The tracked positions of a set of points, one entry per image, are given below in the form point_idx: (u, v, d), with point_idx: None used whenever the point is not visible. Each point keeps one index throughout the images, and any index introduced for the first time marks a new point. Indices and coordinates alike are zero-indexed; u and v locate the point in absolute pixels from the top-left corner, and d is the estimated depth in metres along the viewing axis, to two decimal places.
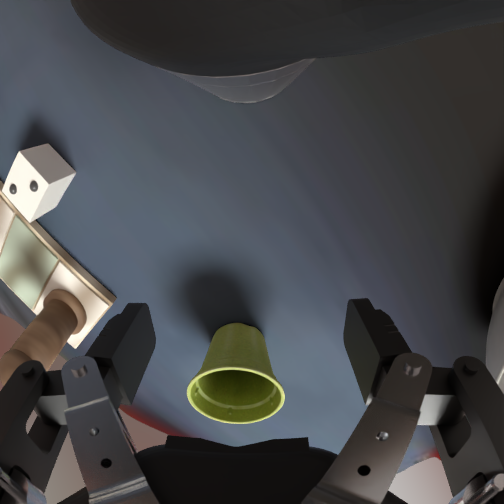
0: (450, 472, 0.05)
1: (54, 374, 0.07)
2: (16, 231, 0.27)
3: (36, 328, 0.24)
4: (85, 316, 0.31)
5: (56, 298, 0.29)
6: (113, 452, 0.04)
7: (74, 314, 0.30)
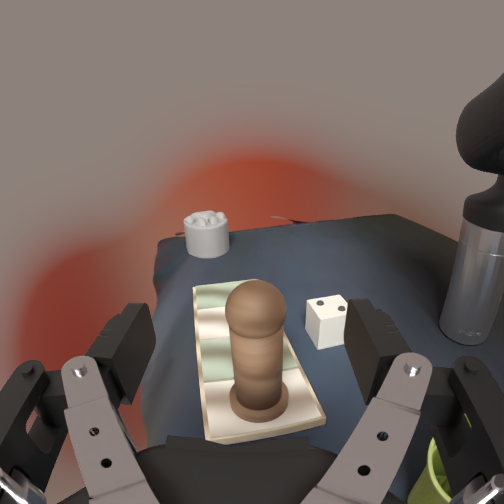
0: (451, 472, 0.05)
1: (54, 374, 0.07)
2: None
3: None
4: (281, 412, 0.27)
5: None
6: (113, 452, 0.04)
7: (280, 397, 0.28)
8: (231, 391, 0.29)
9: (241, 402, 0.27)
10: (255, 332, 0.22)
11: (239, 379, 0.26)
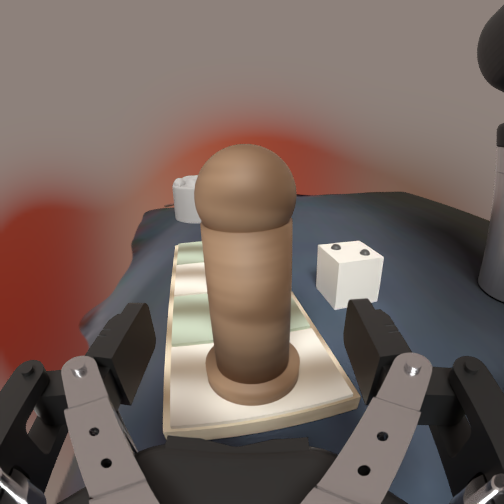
0: (451, 472, 0.05)
1: (54, 374, 0.07)
2: None
3: None
4: (289, 389, 0.17)
5: None
6: (113, 452, 0.04)
7: (287, 363, 0.18)
8: (209, 355, 0.19)
9: (223, 371, 0.17)
10: (243, 215, 0.13)
11: (217, 325, 0.16)
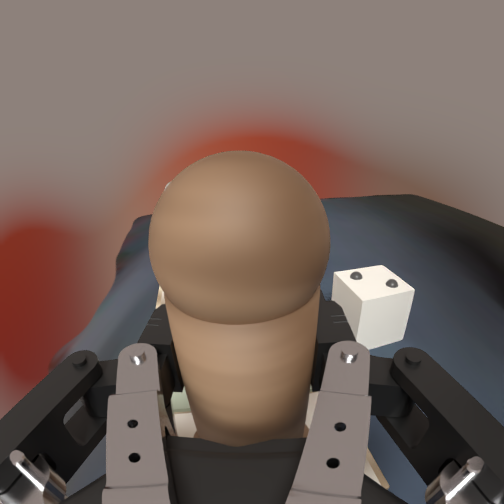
0: (417, 461, 0.06)
1: (106, 364, 0.08)
2: None
3: None
4: None
5: None
6: (145, 448, 0.05)
7: None
8: None
9: None
10: (233, 299, 0.06)
11: (201, 429, 0.09)
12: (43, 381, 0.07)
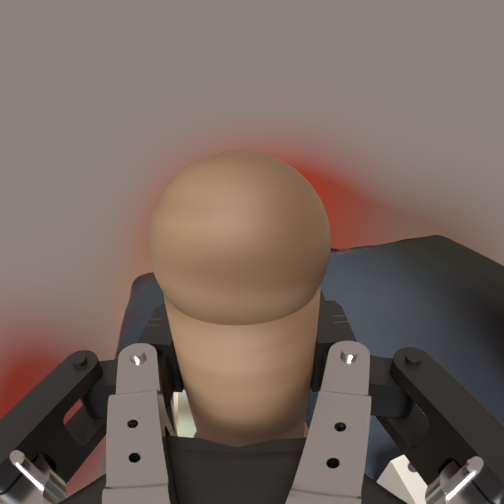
0: (416, 461, 0.06)
1: (106, 364, 0.08)
2: None
3: None
4: None
5: None
6: (145, 448, 0.05)
7: None
8: None
9: None
10: (233, 300, 0.06)
11: (201, 430, 0.09)
12: (43, 381, 0.07)
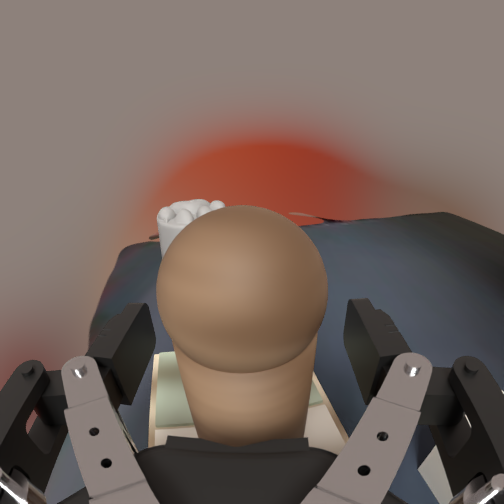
0: (451, 472, 0.05)
1: (54, 374, 0.07)
2: None
3: None
4: None
5: None
6: (113, 452, 0.04)
7: None
8: None
9: None
10: (237, 356, 0.07)
11: None
12: None
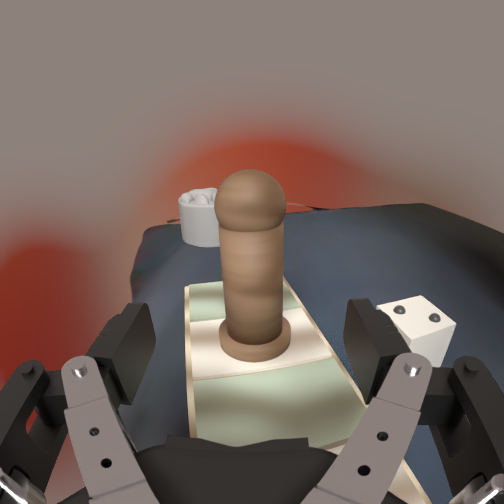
0: (451, 472, 0.05)
1: (54, 374, 0.07)
2: (318, 370, 0.21)
3: None
4: (283, 350, 0.23)
5: None
6: (113, 452, 0.04)
7: (281, 331, 0.24)
8: (221, 326, 0.25)
9: (233, 336, 0.23)
10: (249, 220, 0.19)
11: (229, 299, 0.22)
12: None
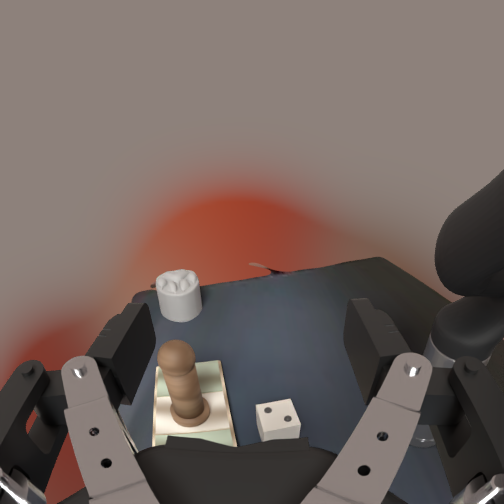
0: (451, 472, 0.05)
1: (54, 374, 0.07)
2: (219, 435, 0.37)
3: None
4: (203, 422, 0.39)
5: None
6: (113, 452, 0.04)
7: (202, 411, 0.40)
8: (172, 404, 0.41)
9: (176, 413, 0.39)
10: (172, 373, 0.35)
11: (171, 398, 0.38)
12: None
